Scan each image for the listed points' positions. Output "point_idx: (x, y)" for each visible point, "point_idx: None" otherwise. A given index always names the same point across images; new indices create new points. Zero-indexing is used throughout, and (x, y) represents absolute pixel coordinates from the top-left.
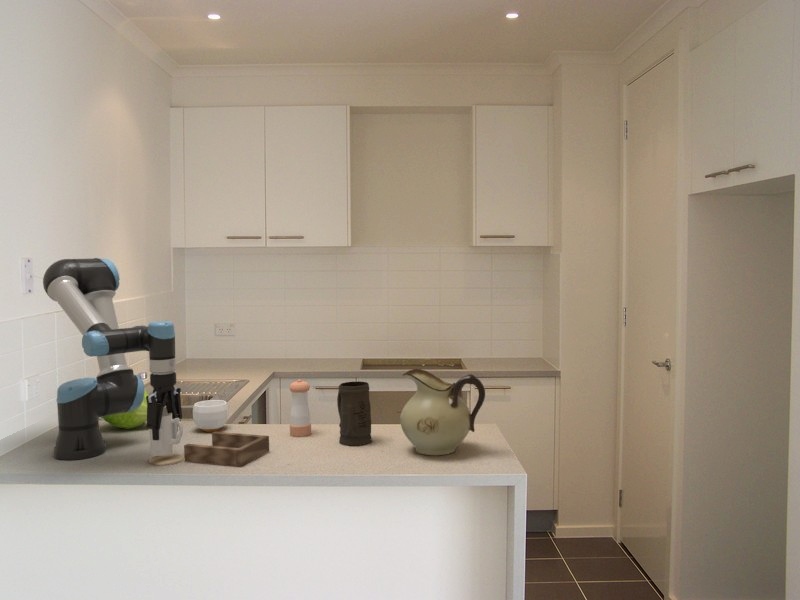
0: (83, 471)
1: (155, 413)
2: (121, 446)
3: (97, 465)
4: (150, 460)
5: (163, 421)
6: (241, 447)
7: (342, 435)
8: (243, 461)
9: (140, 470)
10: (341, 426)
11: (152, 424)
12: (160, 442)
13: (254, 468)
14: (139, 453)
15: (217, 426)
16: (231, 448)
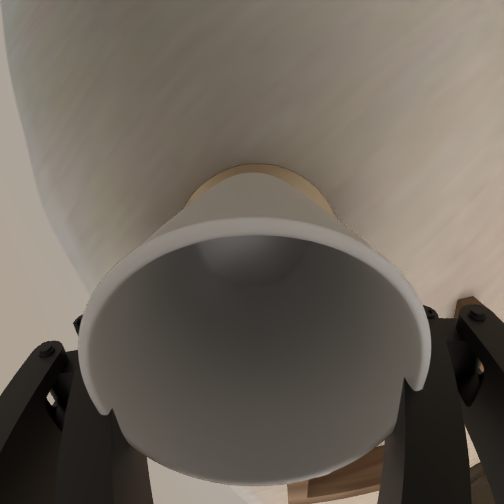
0: (25, 54)
1: (44, 497)
2: None
3: (86, 22)
4: (199, 196)
5: (188, 429)
6: (314, 498)
7: None
8: None
9: (102, 242)
10: (473, 495)
11: (50, 413)
12: None
13: (285, 485)
14: (303, 28)
15: None
16: (297, 491)
